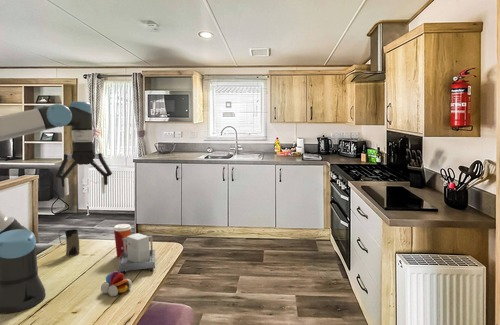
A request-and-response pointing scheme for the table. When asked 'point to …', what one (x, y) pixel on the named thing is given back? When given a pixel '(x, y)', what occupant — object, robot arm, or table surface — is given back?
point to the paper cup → (121, 237)
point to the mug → (71, 242)
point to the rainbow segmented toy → (115, 284)
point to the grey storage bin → (129, 265)
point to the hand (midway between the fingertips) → (85, 193)
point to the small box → (138, 248)
